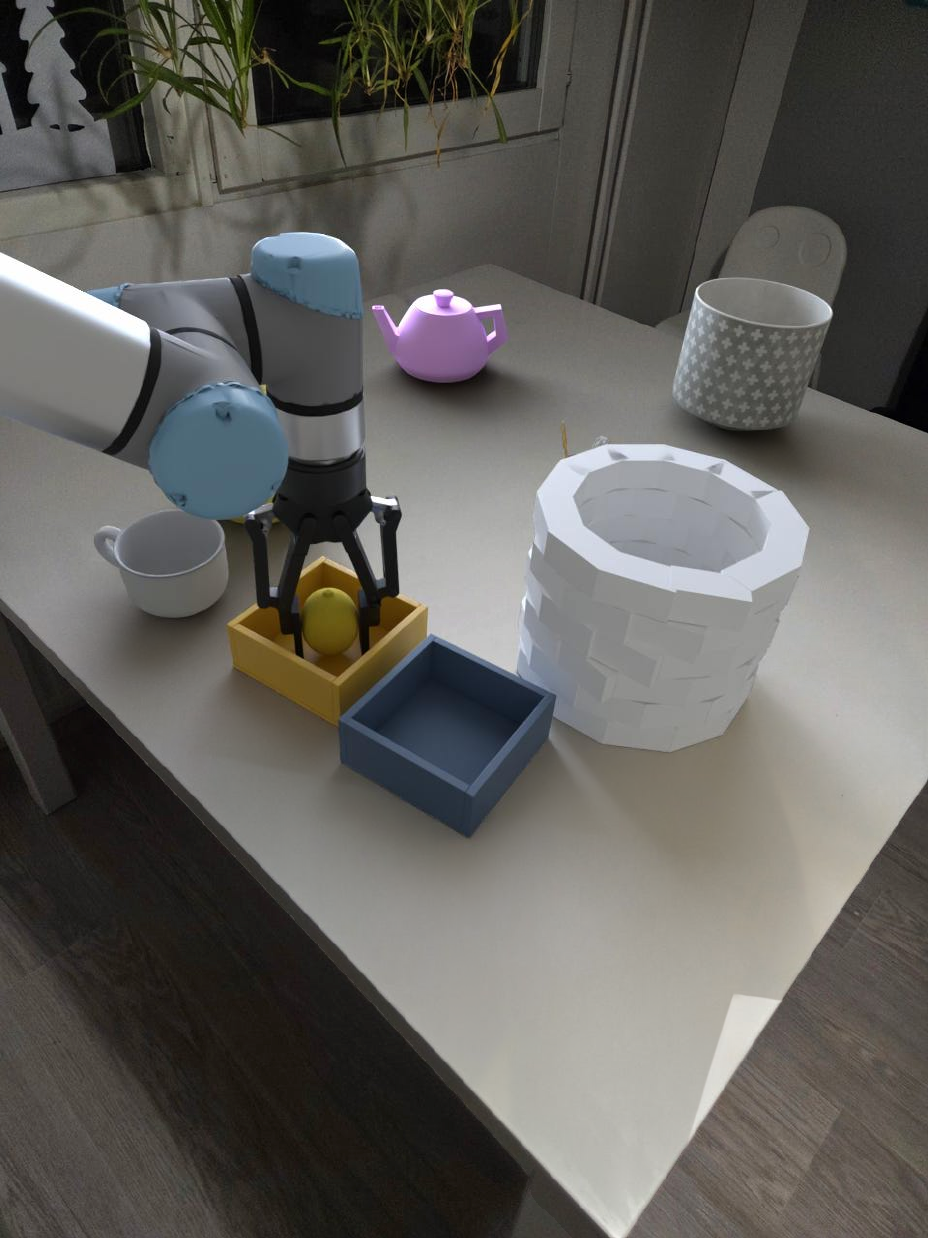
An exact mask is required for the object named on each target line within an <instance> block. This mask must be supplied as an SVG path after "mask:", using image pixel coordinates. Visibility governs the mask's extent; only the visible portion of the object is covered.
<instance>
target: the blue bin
mask: <svg viewBox="0 0 928 1238" xmlns="http://www.w3.org/2000/svg"><path fill="white" fill-rule="evenodd" d="M555 701H556V695H555V694H553V693H551V692H548V691H547V690H545V689H543V688H541V687H539V686H537V685H535V684H532V683H530V682H528V681H526V680H524V679H522V677H521V676H519V675H516V674H514V673H512V672H510V671H508V670H506V669H504V668H503V667H500V666H498V665H496V664H494V663H492V662H490V661H488V660H486V659H484V658H482V657H480V656H478V655H476V654H474V653H472V652H470V651H468V650H466V649H464V648H461V647H459V646H458V645H455V644H453V643H451V642H449V641H447V640H445V639H443V638H441V637H439V636H438V635H435V634H434V633H429V634H428V635H427V637H426V638H425V639H424V640H423V641H422V642H421V643H420V644H419V645H418V646H417V647H416V648H415V649H413V650H412V651H411V652H410V653H409V654H408V655H407V656H406V657H405V658H404V659H403V660H402V661H401V662H399V663H398V664H397V665H396V666H395V667H394V668H393V669H392V670H391V671H390V672H389V673H388V674H387V675H385V676H384V677H383V678H382V679H381V680H380V681H379V682H378V683H377V684H376V685H375V686H374V687H373V688H371V689H370V690H369V691H368V692H367V693H366V694H365V695H364V696H363V697H362V698H361V699H360V700H359V701H357V702H356V703H355V704H354V705H353V706H352V707H351V708H350V709H349V710H348V711H347V712H346V713H345V714H343V715H342V716H341V717H340V718H339V719H338V727H337V728H338V743H339V760H340V763H342V764H343V765H344V766H346V767H348V768H350V769H351V770H353V771H355V772H357V773H358V774H359V775H361V776H363V777H365V778H366V779H367V780H370V781H372V782H373V783H375V784H376V785H377V786H380V787H381V788H383V789H385V790H386V791H388V792H389V793H391V794H393V795H395V796H397V797H398V798H399V799H402V800H403V801H405V802H407V803H408V804H410V805H411V806H413V807H415V808H416V809H419V810H420V811H422V812H423V813H425V814H426V815H428V816H430V817H432V818H433V819H435V820H437V821H438V822H440V823H442V824H443V825H445V826H447V827H448V828H450V829H452V830H453V831H455V832H457V833H458V834H460V835H461V836H463V837H465V838H467V840H468V839H471V838H472V836H473V834H474V833H475V832H476V831H477V830H478V828H479V827H480V826H481V824H482V823H483V822H484V821H485V819H486V818H487V817H488V815H489V814H490V813H491V812H492V810H493V809H494V807H496V805H497V804H498V803H499V802H500V800H501V799H502V797H503V796H504V795H505V793H506V792H507V791H508V790H509V789H510V787H511V786H512V785H513V783H515V781H516V779H517V778H518V777H519V776H520V775H521V774H522V772H523V770H524V769H526V767H527V766H528V764H529V763H530V762H531V760H532V759H533V758H534V756H535V755H536V754H537V752H538V751H539V750H540V748H541V747H542V746H543V745H544V744H545V742H546V741H547V740H548V739H549V736H550V731H551V727H552V721H553V718H554V717H553V711H554V706H555Z"/></svg>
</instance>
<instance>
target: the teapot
mask: <svg viewBox="0 0 928 1238" xmlns="http://www.w3.org/2000/svg"><path fill="white" fill-rule="evenodd" d="M372 313H373V316H374V318H375V321H376V322H377V325H378V327H379V329H380V332H381V334H382V337H383V339H384V342H385V344H386V347H387V349H388V351H389V354H390V355H393V356H394V359H395V361H396V363H398V365H399V366H400V367H401V369H402V370H403V371H405V372H406V373H407V374H408V375H409V376H410V377H411V376H412V377H413V378H416V379H418V380H422V381H426V382H431V383H442V384H443V383H447V384H449V383H458V382H462V381H463V382H464V381H466V380H468V379H471V378H473V377H474V376H475V375H477V374H478V373H479V372H480V371H481V370H483V368H484V367H485V366H486V364H487V363H488V360H489V357H490V355H492V354H493V353H494V352H495V351H496V350H498V349H499V348H501V347H502V346H503V345H504V344H505V343H507V342H508V341H509V340H510V339H509V334H508V329H507V326H506V322H505V317H504V314H503V313H504V312H503V310H502V306H501V304H500V303H499V304H491V305H484V306H478V307H474V306H473V305H472V304H471V303H470V302H469V301H468V300H466V299H465V298H462V297H459V296H455V295H454V292H453V291H451V290H449V289H437V290H434V291H433V294H429V295H424V296H421V297H419V298H417V299H416V300H415V301H413V303H412V304H411V306H410V307H409V308H408V310H407V311H406V312H405V314H404V316H403V318H402V319H401V321H400V323H399V325H398V326H396V325H395V323H394V322H393V320H392V318H391V317H390V315H389V314H388V312H387V310H386V309H385V306H384V305H372ZM491 318H492V320H493V327H494V331H492V332H491V333H489V334H488V335H487V332H486V330H485V327H484V326H483V323H482V321H483V320H486V319H491Z"/></svg>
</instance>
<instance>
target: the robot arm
mask: <svg viewBox="0 0 928 1238" xmlns="http://www.w3.org/2000/svg"><path fill="white" fill-rule="evenodd" d="M250 258H251V263H250V265H249V273H245V274H238V275H236V276H228V277H217V278H216V277H215V278H205V279H192V280H177V281H167V282H166V281H165V282H164V281H163V282H153V283H140V284H134V283H131V282H123V283H122V284H121V285H118V286H111V287H105V288H99V289H98V288H97V289H93V290H87V291H84V292H83V291H81V290H79V289H78V288H75V287H74V286H72V285H69V284H67V283H65V282H63V281H61V280H59V279H57V278H55V277H53V276H51V275H48V274H47V273H45V272H42V271H41V270H38V269H36V268H34V267H32V266H30V265H28V264H26V263H23V262H22V261H19V260H18V259H16V258H13V257H12V256H9V255H7V254H5V253H4V252H1V251H0V417H2V418H5V419H8V420H9V421H13V422H15V423H19V424H22V425H24V426H26V427H27V426H28V427H30V428H33V429H36V430H39V431H41V432H43V433H46V434H49V435H52V436H55V437H57V438H60V439H63V440H66V441H68V442H71V443H74V444H77V445H79V446H83V447H86V448H88V449H91V450H94V451H96V452H99V453H102V454H105V455H107V456H110V457H113V458H114V459H117V460H119V461H122V462H124V463H126V464H127V463H128V464H129V465H133V466H134V467H135V466H136V467H138V468H141V469H143V470H146V471H149V474H150V475H151V476H152V478H153V481H154V484H155V485H156V486H157V487H158V488H159V489H160V490H161V491H162V493H163V494H164V495H165V497H166V498H167V499H168V501H170V503H172V504H173V505H174V506H176V507H177V508H178V509H181V510H183V511H184V512H186V513H188V514H190V515H192V516H195V517H199V518H203V519H209V520H216V521H225V520H228V519H232V518H237V517H240V516H244V524H243V528H244V530H245V531H246V533H247V535H248V537H249V539H250V540H251V542H252V554H253V568H254V569H253V570H254V581H255V582H254V583H255V595H256V603H257V606H258V607H259V608H261V609H267V608H268V607H273V608H275V609H277V610H278V613H279V621H280V629H281V632H282V634H283V635H290V634H294V644H295V653H296V655H297V656H299V657H300V658H302V659H304V652H303V641H302V631H301V621H300V610H299V600H298V595H295V592H296V589H297V585H298V582H299V578H300V575H301V571H302V570H303V569H304V564H305V560H306V557H307V556H308V554H309V551H310V547H311V545H319V544H322V543H333V544H339V543H341V544H342V546H343V549H344V550H345V553H346V554H347V556H348V558H349V561H350V563H351V566H352V568H353V571H354V572H356V575H357V577H358V579H359V582H360V584H361V586H362V589H359V590H358V616H359V641H360V647H361V653H362V656H363V655H364V654H365V653H366V652H368V651H369V650H370V643H369V627H374V626H379V624H380V607H381V605H382V604H381V600H382V599H383V598H385V597H387V596H389V597H391V598H394V597H397V596H398V595H399V593H400V575H399V574H400V573H399V559H398V558H399V557H398V542H397V531H398V529H399V525H400V523H401V520H402V517H403V512H402V509H401V505H400V501H399V498H398V496H397V495H396V494H388V495H387V496H386V497H385V498H382V497H377V496H372V493H371V492H370V490H369V489H368V487H367V458H366V457H367V455H366V453H367V452H366V446H365V441H366V414H365V412H366V411H365V392H364V319H363V318H364V316H365V308H364V306H363V294H362V293H363V292H362V280H361V273H360V265H359V259H358V257H357V255H356V252H355V251H354V250H353V249H352V248H351V247H349V245H348V244H347V243H345V242H344V241H342V240H340V239H339V238H336V237H333V236H330V235H325V234H323V233H322V234H321V233H315V232H287V233H286V232H284V233H280V234H278V235H277V236H268V237H265V238H262V239H261V240H259V241H258V242H256V243H255V245H253V248H252V250H251V257H250ZM260 385H266V395H265V394H264V392H263V390H262V389H261V387H260ZM274 494H275V495H274ZM273 495H274V497H273V499H272V503H269V504H266V505H263V504H265V503H266V502H267V501H268V500H269V499H270V498H271V497H272V496H273ZM262 505H263V506H262ZM370 513H372V514H373V515H374V521H375V522H376V523H377V524H379V533H380V534H379V535H380V536H379V537H380V551H381V563H382V574H383V577H381V578H379V579H377V578H376V575H375V572H374V571H373V569H372V566H371V563H370V561H369V559H368V556H367V554H366V552H365V549H364V545H363V544H362V542H361V539H360V536H359V535H358V531H357V529H358V528H359V527H360V525H361V524H362V523H363V522H364V520H365V519H366V518H367V517H368V515H369V514H370ZM275 518H277V519H278V520H279V521H280V522H279V523H281V524H282V525H283V526H284V527H286V529H287V530H289V531H290V532H291V534H290V540H289V543H288V547H287V551H286V555H285V560H284V561H283V565H282V570H281V573H280V578H279V580H278V585H276V587H272V586H271V583H270V565H269V550H268V533H269V532H270V531H271V530H272V529H273V523H272V520H273V519H275Z"/></svg>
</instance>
